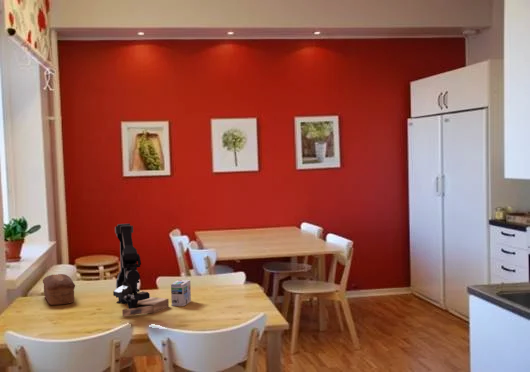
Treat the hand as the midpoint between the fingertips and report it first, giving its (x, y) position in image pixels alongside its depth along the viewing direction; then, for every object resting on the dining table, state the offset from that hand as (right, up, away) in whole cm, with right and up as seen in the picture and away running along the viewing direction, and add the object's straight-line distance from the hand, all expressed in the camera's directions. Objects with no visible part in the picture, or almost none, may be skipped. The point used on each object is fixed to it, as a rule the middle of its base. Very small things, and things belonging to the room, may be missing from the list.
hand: (131, 312), depth 277 cm
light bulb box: (+20, 0, +20) cm, 28 cm away
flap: (+3, -1, -1) cm, 3 cm away
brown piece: (+6, 0, +11) cm, 13 cm away
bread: (-45, -1, +33) cm, 56 cm away
